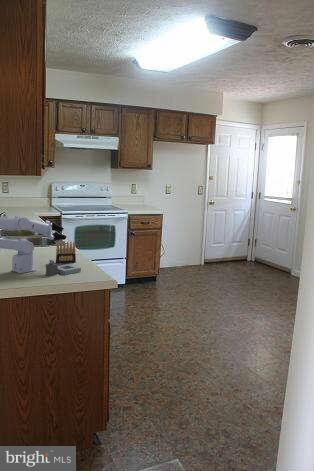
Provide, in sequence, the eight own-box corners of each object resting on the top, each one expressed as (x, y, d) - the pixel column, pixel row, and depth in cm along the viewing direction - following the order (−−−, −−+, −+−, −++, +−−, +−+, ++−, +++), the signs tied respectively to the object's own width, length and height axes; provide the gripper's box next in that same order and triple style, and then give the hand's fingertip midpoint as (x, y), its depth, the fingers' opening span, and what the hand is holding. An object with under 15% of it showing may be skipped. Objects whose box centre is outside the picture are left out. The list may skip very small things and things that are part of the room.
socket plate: (64, 274, 202) (64, 270, 202) (52, 270, 209) (52, 266, 208) (80, 271, 210) (81, 267, 209) (69, 267, 216) (69, 264, 216)
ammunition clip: (75, 261, 231) (75, 240, 229) (75, 262, 229) (76, 241, 227) (55, 262, 226) (55, 241, 224) (56, 263, 225) (56, 241, 223)
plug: (50, 275, 200) (50, 261, 198) (45, 274, 202) (45, 260, 201) (57, 274, 203) (57, 260, 201) (52, 272, 205) (52, 259, 204)
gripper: (45, 229, 201) (70, 235, 208) (40, 213, 211) (64, 220, 219) (39, 240, 203) (64, 246, 211) (35, 224, 214) (59, 230, 222)
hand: (64, 233), depth 215 cm, fingers open, 7 cm apart
